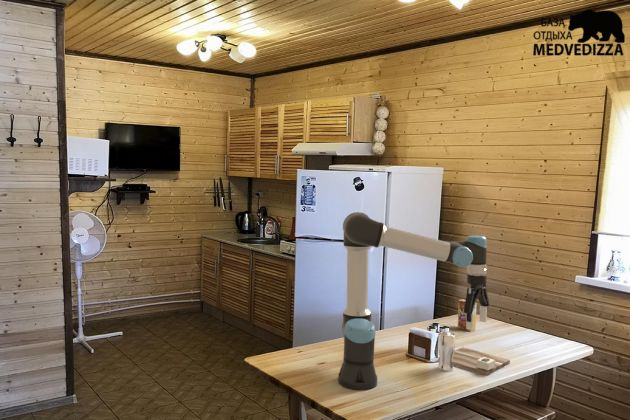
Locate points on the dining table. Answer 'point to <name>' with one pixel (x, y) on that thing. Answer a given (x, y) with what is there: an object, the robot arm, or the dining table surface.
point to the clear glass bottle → (446, 350)
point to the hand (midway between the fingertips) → (476, 325)
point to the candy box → (463, 316)
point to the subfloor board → (475, 360)
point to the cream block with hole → (485, 363)
